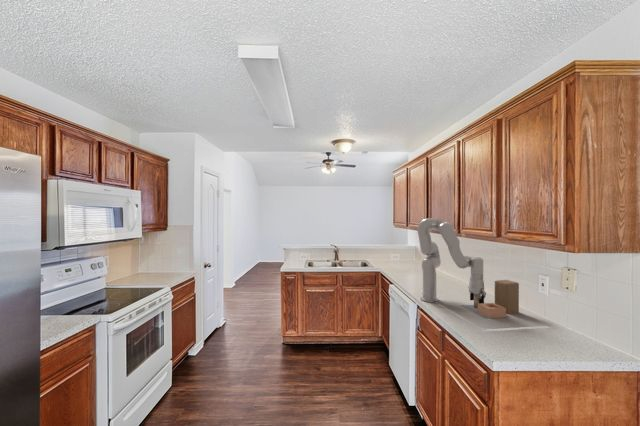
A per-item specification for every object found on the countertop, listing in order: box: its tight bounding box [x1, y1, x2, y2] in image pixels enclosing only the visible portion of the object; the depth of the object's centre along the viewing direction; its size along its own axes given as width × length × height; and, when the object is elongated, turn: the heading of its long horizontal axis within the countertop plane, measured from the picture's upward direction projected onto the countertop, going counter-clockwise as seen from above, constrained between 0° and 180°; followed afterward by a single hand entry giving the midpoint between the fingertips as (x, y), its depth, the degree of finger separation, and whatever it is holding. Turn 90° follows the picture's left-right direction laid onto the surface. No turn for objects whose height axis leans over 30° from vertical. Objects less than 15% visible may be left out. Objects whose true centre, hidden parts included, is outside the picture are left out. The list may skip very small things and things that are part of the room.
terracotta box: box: [478, 302, 507, 319], centre depth 190 cm, size 11×11×6 cm
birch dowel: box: [473, 294, 480, 308], centre depth 204 cm, size 4×4×10 cm
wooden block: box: [494, 279, 520, 315], centre depth 197 cm, size 10×10×20 cm
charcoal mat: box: [459, 304, 510, 320], centre depth 197 cm, size 26×17×1 cm, turn 8°
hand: (476, 302), depth 204 cm, fingers open, 8 cm apart
